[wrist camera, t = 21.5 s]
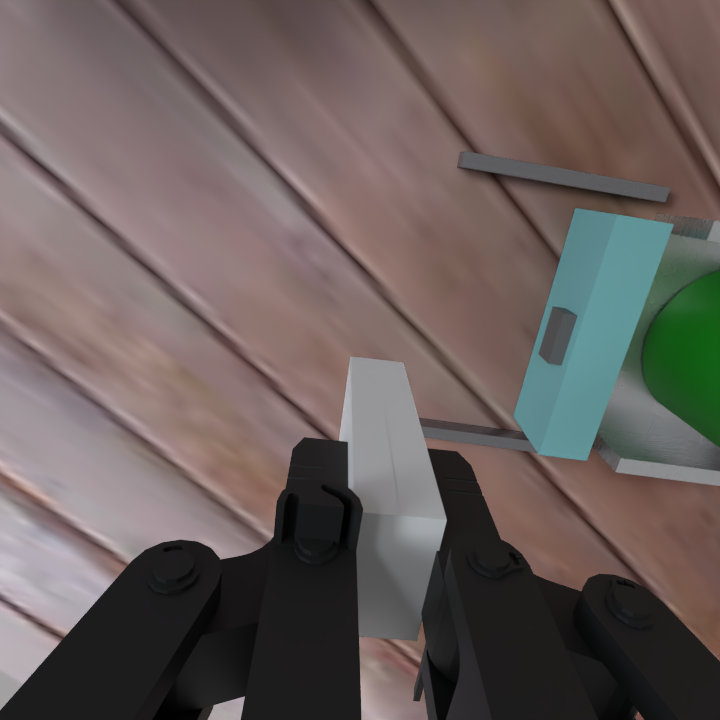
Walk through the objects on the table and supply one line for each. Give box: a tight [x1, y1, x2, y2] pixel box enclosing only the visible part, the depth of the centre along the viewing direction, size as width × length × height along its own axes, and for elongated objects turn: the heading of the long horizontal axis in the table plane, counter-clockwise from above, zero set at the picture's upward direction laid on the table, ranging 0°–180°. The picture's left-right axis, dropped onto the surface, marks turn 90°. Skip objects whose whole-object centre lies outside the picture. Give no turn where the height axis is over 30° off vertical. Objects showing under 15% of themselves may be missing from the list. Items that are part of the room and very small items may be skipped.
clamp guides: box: [419, 151, 670, 452], centre depth 31 cm, size 18×12×1 cm
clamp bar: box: [513, 208, 674, 461], centre depth 30 cm, size 14×4×5 cm, turn 171°
